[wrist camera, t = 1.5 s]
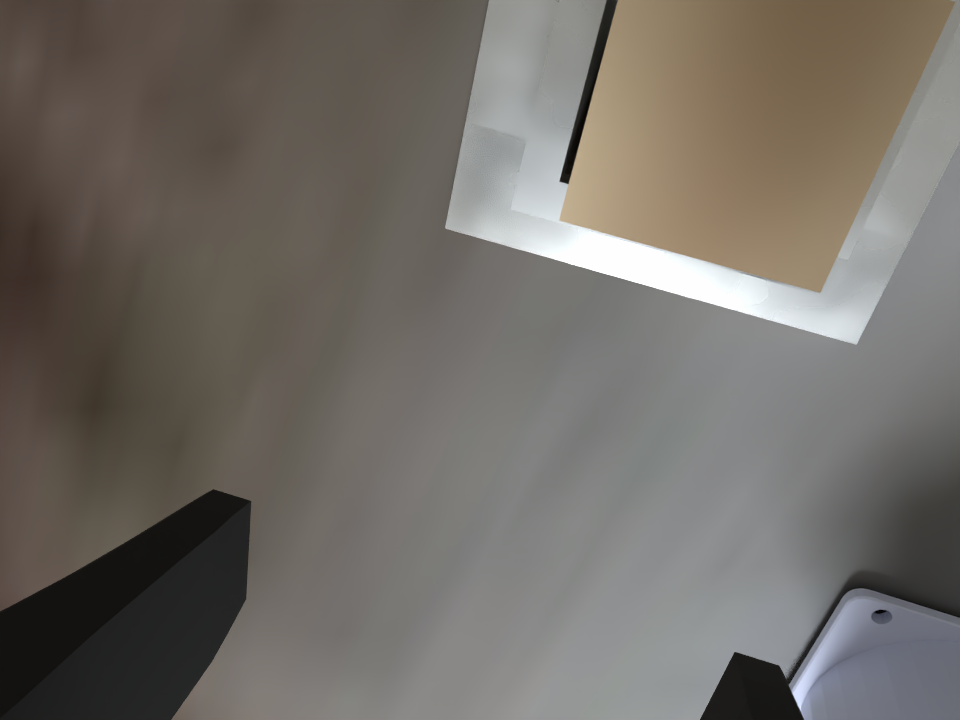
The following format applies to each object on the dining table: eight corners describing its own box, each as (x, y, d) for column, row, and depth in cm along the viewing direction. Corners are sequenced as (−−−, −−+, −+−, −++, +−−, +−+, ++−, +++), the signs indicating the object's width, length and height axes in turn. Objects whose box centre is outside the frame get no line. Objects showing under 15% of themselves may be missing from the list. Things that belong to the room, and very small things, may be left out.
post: (857, -18, 15) (961, -2, 10) (776, 182, 17) (822, 297, 12) (653, -66, 16) (634, -79, 10) (598, 135, 18) (555, 222, 12)
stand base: (1094, -160, 14) (1221, -196, 11) (850, 330, 19) (884, 409, 15) (550, -274, 15) (512, -339, 12) (453, 219, 20) (407, 271, 17)
